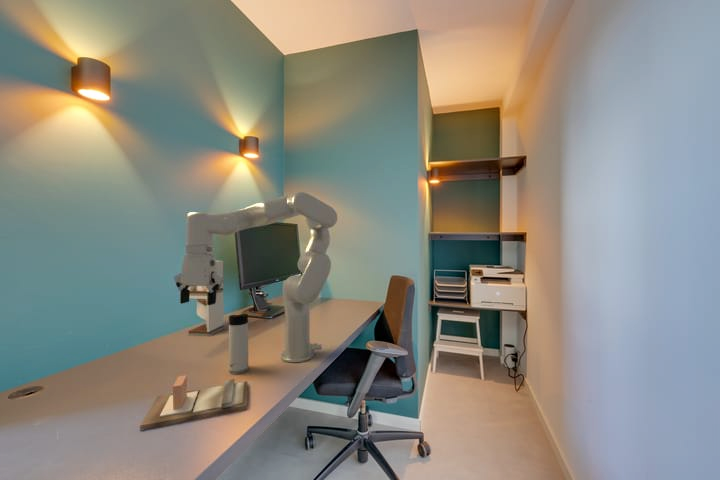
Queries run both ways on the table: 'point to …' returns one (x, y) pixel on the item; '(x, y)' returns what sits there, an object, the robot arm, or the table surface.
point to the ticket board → (201, 405)
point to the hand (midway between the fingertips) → (198, 303)
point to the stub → (179, 399)
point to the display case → (208, 308)
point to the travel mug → (238, 343)
